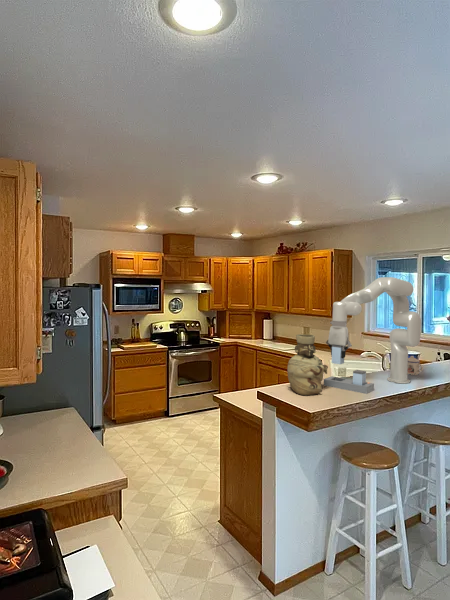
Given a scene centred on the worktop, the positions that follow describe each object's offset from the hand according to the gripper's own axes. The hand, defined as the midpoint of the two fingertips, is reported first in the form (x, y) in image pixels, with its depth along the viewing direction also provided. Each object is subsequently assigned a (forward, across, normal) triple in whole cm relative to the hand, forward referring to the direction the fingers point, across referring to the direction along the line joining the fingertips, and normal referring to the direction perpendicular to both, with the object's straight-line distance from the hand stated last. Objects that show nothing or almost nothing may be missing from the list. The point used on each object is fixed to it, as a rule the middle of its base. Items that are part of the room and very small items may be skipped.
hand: (338, 356), depth 218 cm
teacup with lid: (+17, +20, +70) cm, 74 cm away
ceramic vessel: (+18, -10, -17) cm, 27 cm away
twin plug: (+16, +12, +1) cm, 20 cm away
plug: (+3, 0, 0) cm, 3 cm away
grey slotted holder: (+18, +6, +1) cm, 19 cm away
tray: (+17, 0, +14) cm, 22 cm away
